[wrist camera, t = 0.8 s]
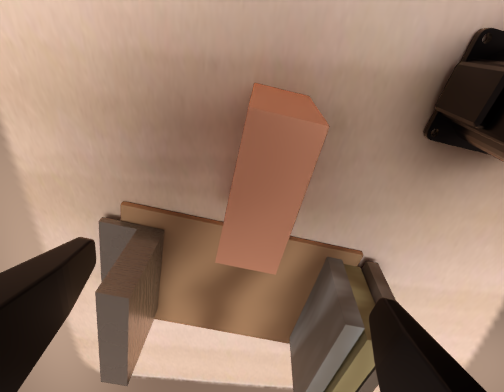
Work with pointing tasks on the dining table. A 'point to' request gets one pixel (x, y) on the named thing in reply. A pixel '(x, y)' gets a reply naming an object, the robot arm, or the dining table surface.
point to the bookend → (126, 294)
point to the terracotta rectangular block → (270, 177)
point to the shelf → (273, 298)
